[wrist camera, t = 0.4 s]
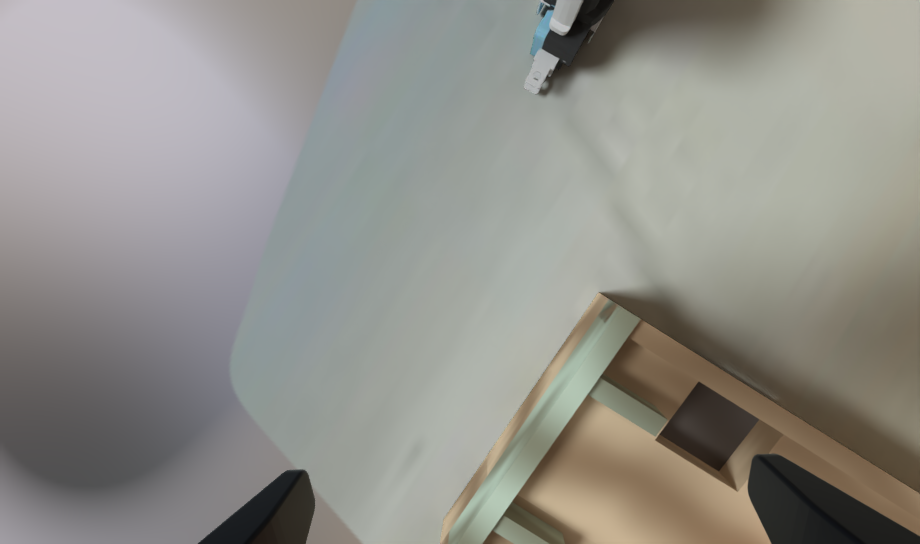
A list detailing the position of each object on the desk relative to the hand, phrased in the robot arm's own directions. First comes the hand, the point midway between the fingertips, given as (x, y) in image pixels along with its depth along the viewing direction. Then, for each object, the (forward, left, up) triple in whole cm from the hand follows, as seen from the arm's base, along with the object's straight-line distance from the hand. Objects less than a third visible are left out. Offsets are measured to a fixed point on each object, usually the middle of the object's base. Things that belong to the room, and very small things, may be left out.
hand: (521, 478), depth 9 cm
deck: (-4, -15, -15) cm, 21 cm away
